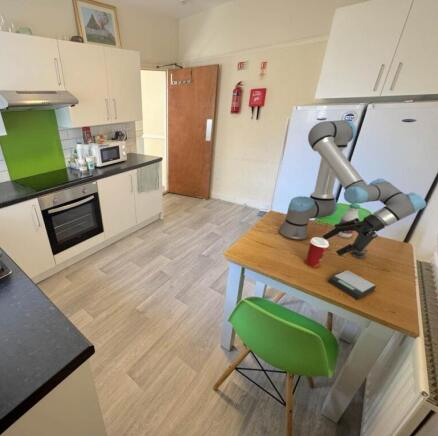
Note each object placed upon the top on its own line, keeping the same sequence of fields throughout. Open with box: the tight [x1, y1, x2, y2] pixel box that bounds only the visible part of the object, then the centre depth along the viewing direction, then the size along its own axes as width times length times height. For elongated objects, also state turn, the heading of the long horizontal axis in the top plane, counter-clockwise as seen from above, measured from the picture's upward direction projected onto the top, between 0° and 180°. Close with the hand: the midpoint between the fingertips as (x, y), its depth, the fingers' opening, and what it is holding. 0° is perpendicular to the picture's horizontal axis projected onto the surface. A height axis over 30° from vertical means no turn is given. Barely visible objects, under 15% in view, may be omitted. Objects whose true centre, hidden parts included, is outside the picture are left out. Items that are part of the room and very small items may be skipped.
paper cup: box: [305, 236, 330, 268], centre depth 119 cm, size 8×8×14 cm
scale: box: [327, 269, 377, 300], centre depth 106 cm, size 12×12×3 cm
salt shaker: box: [351, 246, 368, 259], centre depth 124 cm, size 6×6×12 cm
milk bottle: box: [336, 203, 361, 239], centre depth 140 cm, size 8×8×20 cm
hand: (330, 245), depth 115 cm, fingers open, 13 cm apart
